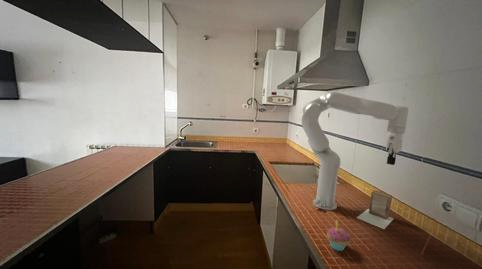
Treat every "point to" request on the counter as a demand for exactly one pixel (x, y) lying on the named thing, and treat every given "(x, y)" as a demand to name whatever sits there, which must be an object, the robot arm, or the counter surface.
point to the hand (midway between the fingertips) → (390, 164)
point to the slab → (380, 204)
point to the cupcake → (338, 238)
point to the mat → (374, 219)
